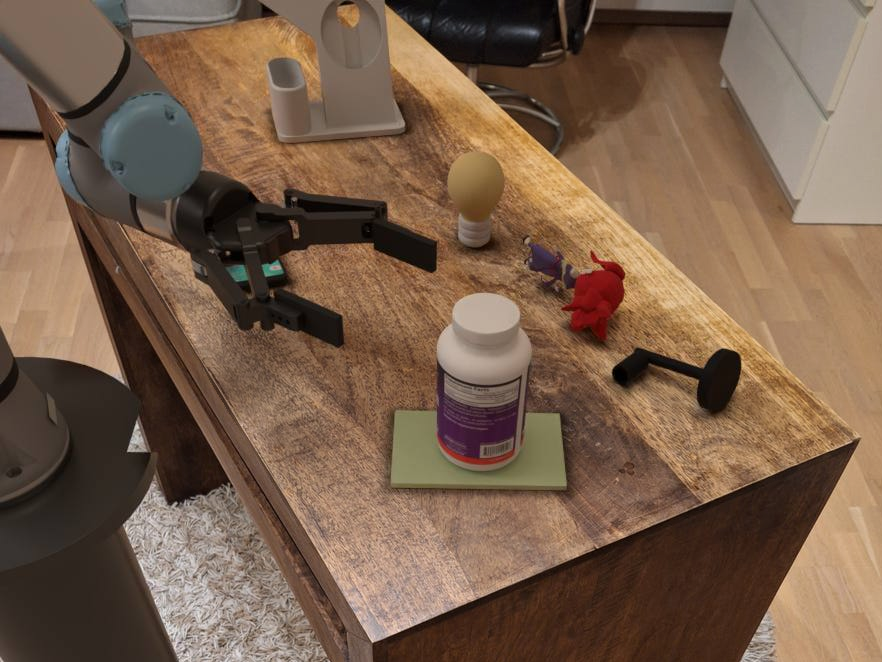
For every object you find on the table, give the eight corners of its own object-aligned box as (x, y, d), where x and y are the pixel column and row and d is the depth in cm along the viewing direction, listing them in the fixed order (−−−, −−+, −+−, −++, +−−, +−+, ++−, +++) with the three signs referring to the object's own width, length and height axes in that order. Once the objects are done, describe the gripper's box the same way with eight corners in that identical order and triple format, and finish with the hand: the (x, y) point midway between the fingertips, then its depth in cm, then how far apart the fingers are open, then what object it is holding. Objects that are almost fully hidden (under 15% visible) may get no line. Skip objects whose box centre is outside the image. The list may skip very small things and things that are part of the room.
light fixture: (576, 423, 91) (653, 365, 96) (663, 457, 85) (739, 394, 91) (573, 370, 87) (654, 313, 92) (664, 403, 81) (744, 340, 86)
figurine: (547, 257, 103) (648, 317, 97) (495, 299, 101) (595, 363, 95) (544, 208, 97) (651, 269, 92) (489, 252, 95) (595, 317, 90)
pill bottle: (464, 407, 87) (468, 272, 76) (537, 437, 85) (553, 302, 74) (420, 456, 83) (417, 320, 72) (495, 489, 81) (505, 354, 69)
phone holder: (276, 144, 118) (254, -18, 103) (268, 108, 123) (245, -50, 109) (407, 133, 121) (402, -26, 106) (392, 99, 126) (386, -56, 112)
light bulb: (506, 231, 107) (511, 145, 99) (494, 260, 104) (499, 173, 96) (454, 223, 108) (455, 137, 100) (440, 251, 104) (441, 164, 96)
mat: (390, 487, 82) (390, 483, 81) (395, 414, 87) (395, 409, 87) (566, 490, 82) (567, 485, 82) (559, 418, 88) (559, 413, 88)
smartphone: (258, 209, 107) (289, 278, 99) (259, 215, 107) (290, 284, 99) (197, 218, 105) (224, 289, 97) (199, 225, 106) (225, 295, 97)
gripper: (293, 198, 92) (467, 268, 86) (111, 313, 79) (301, 405, 73) (284, 120, 86) (470, 190, 80) (85, 232, 73) (289, 325, 67)
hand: (390, 293), depth 77 cm, fingers open, 13 cm apart
